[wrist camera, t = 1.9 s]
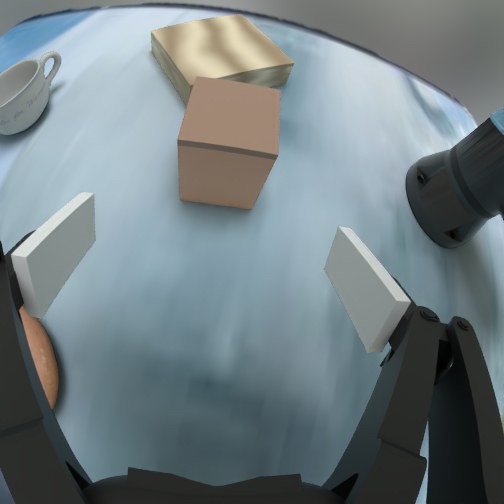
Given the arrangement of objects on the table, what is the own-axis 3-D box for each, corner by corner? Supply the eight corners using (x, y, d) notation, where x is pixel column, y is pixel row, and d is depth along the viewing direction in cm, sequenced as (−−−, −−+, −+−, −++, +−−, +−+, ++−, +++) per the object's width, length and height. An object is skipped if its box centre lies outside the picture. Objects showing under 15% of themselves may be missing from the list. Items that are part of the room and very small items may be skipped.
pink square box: (256, 152, 35) (280, 90, 25) (251, 209, 33) (278, 154, 22) (192, 142, 34) (196, 76, 23) (180, 199, 31) (177, 139, 21)
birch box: (236, 35, 42) (241, 14, 38) (284, 85, 40) (294, 63, 36) (151, 53, 38) (151, 30, 33) (188, 111, 35) (190, 85, 31)
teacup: (4, 157, 28) (-20, 125, 21) (-5, 119, 29) (-24, 89, 21) (81, 101, 33) (68, 62, 25) (62, 72, 33) (51, 37, 26)
